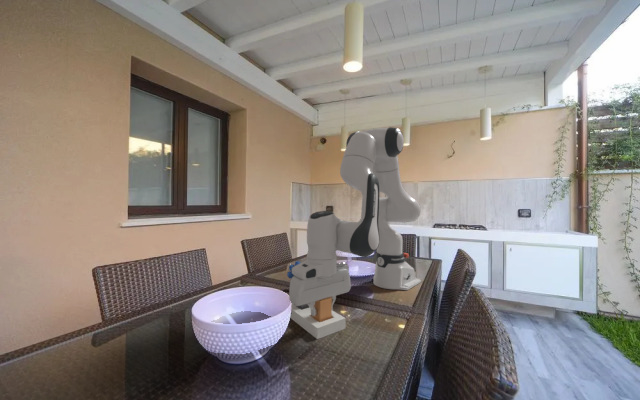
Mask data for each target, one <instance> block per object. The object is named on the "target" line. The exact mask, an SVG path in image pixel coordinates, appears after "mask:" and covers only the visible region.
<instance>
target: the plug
mask: <svg viewBox="0 0 640 400" xmlns="http://www.w3.org/2000/svg"><path fill="white" fill-rule="evenodd" d="M314 307H315V308H316V309H318V315H316V316H313V318H314V319H315V320H317V321H318V322H322V321H325V320H328V319H331V318H332V311H333V310H332V298H330V297H329V298H325V299H322V300H318V301H315V305H314Z"/></svg>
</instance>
